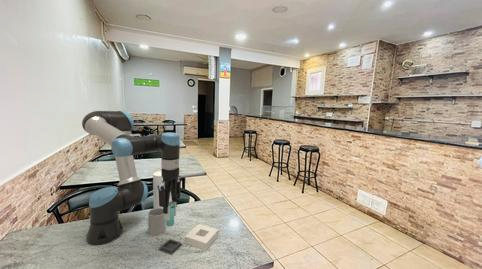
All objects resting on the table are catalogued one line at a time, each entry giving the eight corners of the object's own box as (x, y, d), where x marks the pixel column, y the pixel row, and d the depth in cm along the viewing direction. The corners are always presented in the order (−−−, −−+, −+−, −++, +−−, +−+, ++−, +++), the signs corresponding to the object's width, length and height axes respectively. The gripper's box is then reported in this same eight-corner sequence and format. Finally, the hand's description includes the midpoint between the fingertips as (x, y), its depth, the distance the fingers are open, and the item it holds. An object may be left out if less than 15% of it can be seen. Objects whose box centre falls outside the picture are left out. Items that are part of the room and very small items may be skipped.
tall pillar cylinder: (159, 206, 133) (158, 170, 130) (174, 208, 132) (174, 171, 129) (150, 215, 122) (149, 175, 120) (167, 216, 121) (166, 176, 119)
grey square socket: (157, 251, 92) (157, 247, 91) (169, 241, 99) (169, 237, 99) (171, 256, 89) (171, 252, 88) (183, 245, 96) (183, 241, 96)
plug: (164, 225, 92) (164, 204, 91) (169, 221, 95) (169, 201, 94) (170, 227, 90) (170, 206, 89) (175, 223, 94) (176, 202, 93)
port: (184, 244, 97) (184, 236, 97) (198, 230, 108) (198, 223, 108) (206, 251, 93) (206, 243, 92) (218, 236, 104) (218, 229, 103)
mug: (161, 236, 102) (161, 216, 101) (145, 236, 102) (144, 215, 101) (170, 223, 114) (170, 205, 113) (155, 223, 114) (155, 204, 113)
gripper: (163, 174, 80) (163, 228, 83) (188, 164, 96) (188, 210, 99) (149, 171, 83) (149, 224, 86) (176, 162, 99) (175, 207, 101)
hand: (170, 217), depth 92 cm, fingers closed on plug, 4 cm apart
